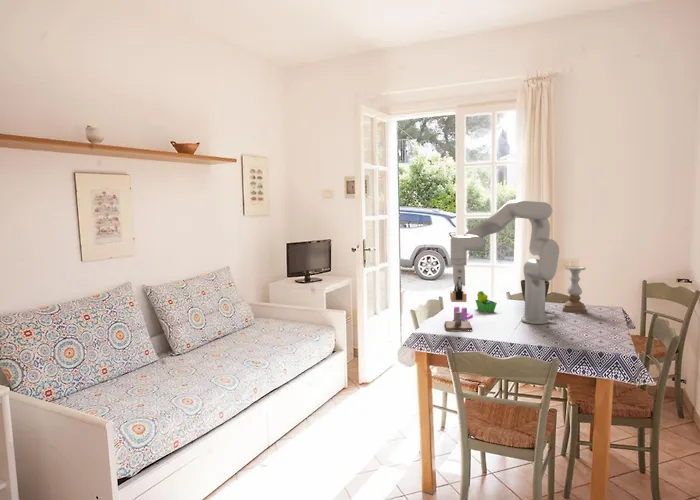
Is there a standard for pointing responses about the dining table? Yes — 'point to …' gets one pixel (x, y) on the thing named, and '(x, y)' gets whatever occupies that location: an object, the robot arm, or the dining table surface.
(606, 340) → the dining table surface
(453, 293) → the collar
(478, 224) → the robot arm
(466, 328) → the post stand
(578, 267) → the candle holder
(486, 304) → the fruit basket
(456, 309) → the bracket
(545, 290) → the plant pot
